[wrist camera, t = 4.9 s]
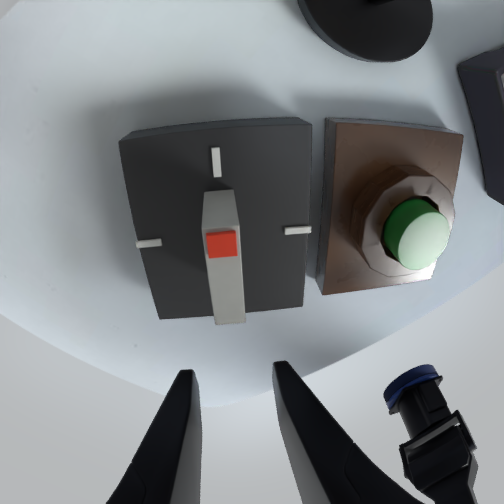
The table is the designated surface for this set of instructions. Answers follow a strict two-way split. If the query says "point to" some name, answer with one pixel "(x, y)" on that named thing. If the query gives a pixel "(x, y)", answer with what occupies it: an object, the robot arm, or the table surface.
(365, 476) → the robot arm
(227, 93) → the table surface
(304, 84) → the table surface
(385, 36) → the desk lamp
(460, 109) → the table surface
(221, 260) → the dimmer knob
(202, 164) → the panel
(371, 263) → the switch block
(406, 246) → the power button
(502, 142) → the calculator
